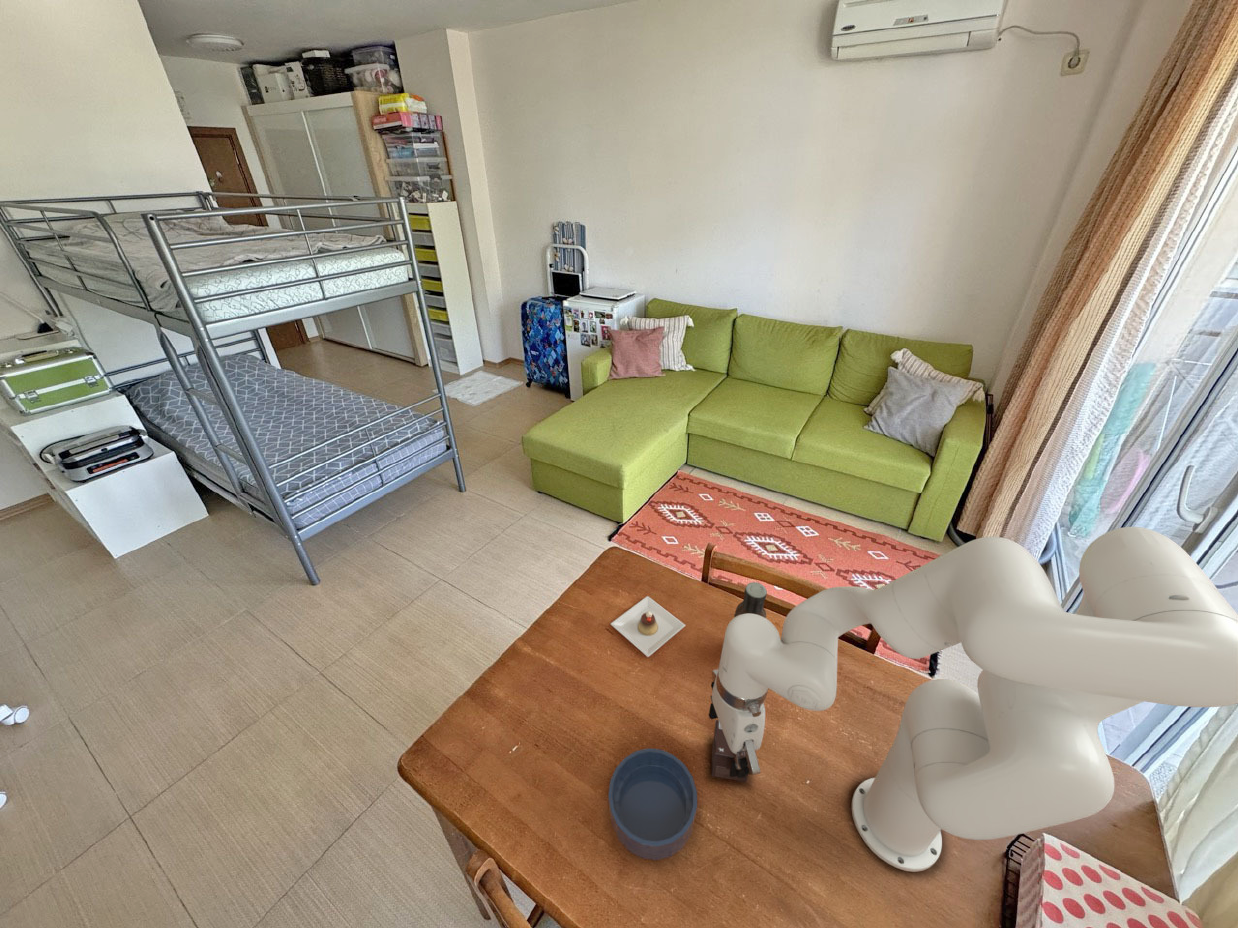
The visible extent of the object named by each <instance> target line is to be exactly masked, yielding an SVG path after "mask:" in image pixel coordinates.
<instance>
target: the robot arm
mask: <svg viewBox="0 0 1238 928" xmlns="http://www.w3.org/2000/svg"><path fill="white" fill-rule="evenodd" d="M1078 576H1079V582H1080V585H1081V589H1082V591H1083V594H1082V598H1081V602H1080V604H1079V606H1078V608H1077V610H1076V612H1075V613H1072V612H1067V611H1064V609H1063V606H1062V605H1061V602H1060V600H1059V598H1058V595H1057V594H1056V591H1055V589H1054V587H1053V585H1052V583H1051V581H1050V579H1049V576H1048V575H1047V574H1046V571H1045V570H1044V568H1043V567H1042V565H1041V564H1040V563H1039V561H1038V560H1037V559H1036V557H1034V555H1033V554H1032V553H1031V552H1030V551H1029V550H1028V549H1026V548H1025V547H1024V546H1022V545H1021V544H1019V543H1017V542H1016V541H1014V540H1012V539H1009V538H1005V537H1002V536H985V537H984V536H983V537H980V538H976V539H972V540H970V541H968V542H966V543H964V544H962V545H960V546H958V547H955V548H954V549H951V550H949V551H948V552H946V553H944V554H942V555H940V556H938V557H936V558H935V559H933V560H931V561H928V562H927V563H925V564H923V565H922V566H919V567H917V568H914V569H913V570H912V571H909V572H908V573H906V574H904V575H902V576H900V577H898V578H896V579H894V580H892V581H890V582H888V583H887V584H885V585H883V586H880V587H878V588H875V589H872V588H867V587H862V586H853V585H852V586H851V585H850V586H834V587H828V588H826V589H823V590H821V591H818V592H817V593H815V594H814V595H811V596H810V597H808V598H806V599H805V600H803V601H801V602H800V603H798V604H797V605H795V606H794V607H793V608H792V609H791V610H790V611H789V612H788V613H787V615H786V617H785V619H784V621H783V624H782V630H781V636H780V633H779V631H778V629H777V627H776V626H775V625H774V623H773V622H771V621H770V620H769V619H768V618H767V617H766V618H764V617H762V616H760V615H756V614H750V613H747V614H741V615H738V616H736V617H735V618H734V617H732V619H730V621H729V623H728V624H727V626H726V628H725V632H724V639H723V643H722V649H721V652H720V653H721V654H720V659H719V664H718V668H715V669H712V670H711V679H712V681H711V684H710V687H711V691H712V692H711V694H710V701H711V703H710V705H709V710H708V711H709V712H708V719H710V720H719V722H720V725H721V728H722V730H723V733H724V736H725V738H726V741H727V743H728V746H729V748H730V750H731V751H732V752H733V753H734V761H732V764H731V768H730V773H729V774H730V777H736V776H737V777H738V778H743V777H746V776H747V774H748V776H749V775H750V776H755V775H759V774H761V768H760V764H759V760H758V757H757V753H756V751H758V750H760V749H761V746H762V743H763V738H764V734H765V727H766V707H765V702H766V699H767V695H768V692H769V690H771V691H772V692H774V693H775V694H777V695H778V696H780V697H782V698H783V699H785V700H787V701H788V702H790V703H792V704H794V705H795V706H798V707H800V708H801V709H804V710H808V711H813V712H822V711H826V710H828V709H830V708H831V707H832V706H833V705H834V703H835V701H836V698H837V690H838V649H839V637H841V636H843V635H844V634H846V633H848V632H850V631H852V630H854V629H856V628H858V627H861V626H863V625H864V626H865V625H868V624H869V625H872V627H873V628H874V630H875V631H876V633H877V634H878V636H879V637H880V638H881V639H882V640H883V641H884V642H885V643H886V645H888V646H889V647H890V648H891V649H892V650H893V651H895V653H897V654H899V655H901V656H903V657H905V658H908V659H912V660H919V659H923V658H926V657H928V656H931V655H933V654H936V653H938V652H941V651H944V650H945V649H948V648H950V647H954V646H956V645H959V644H961V647H962V649H963V651H964V653H965V654H966V656H967V657H968V658H969V660H970V661H971V662H973V663H974V665H976V666H977V667H979V668H980V669H981V671H980V673H979V674H978V677H977V685H976V686H977V692H976V691H975V690H974V689H972V688H971V687H969V686H967V685H966V684H964V683H962V682H959V681H956V680H952V679H947V678H935V679H931V680H930V679H929V680H926V681H924V682H922V683H920V684H919V685H917V686H916V687H915V688H914V689H913V690H912V691H911V692H910V694H909V696H907V700H906V701H905V703H904V707H903V709H902V714H901V719H900V723H899V725H898V726H899V727H898V730H897V732H896V735H895V738H894V739H893V742H892V744H891V746H890V748H889V750H888V751H887V753H886V755H885V758H884V759H883V761H882V763H881V766H880V767H879V769H878V772H877V773H876V775H875V777H870V778H868V779H865V780H863V781H862V782H861V783H860V784H859V785H858V786H857V788H856V789H855V790H854V792H853V796H852V799H851V816H852V819H853V822H854V825H855V828H856V830H857V832H858V834H859V836H860V837H861V838H862V840H863V842H864V843H865V845H866V846H867V847H869V849H870V850H871V851H872V852H873V853H874V854H875V855H876V856H877V857H878V858H879V859H880V860H882V861H884V862H885V863H886V864H888V865H890V866H892V867H894V868H896V869H898V870H902V871H905V872H910V873H911V872H912V873H916V872H917V873H918V872H923V871H926V870H927V869H930V868H932V866H934V864H935V863H936V862H937V861H938V859H939V858H940V855H941V853H942V848H943V838H942V837H943V836H942V831H944V832H945V833H947V834H949V835H951V836H954V837H958V838H961V839H966V840H975V841H988V840H990V841H991V840H997V839H1003V838H1008V837H1013V836H1018V835H1022V834H1026V833H1030V832H1033V831H1037V830H1042V829H1046V828H1051V827H1054V826H1058V825H1063V824H1067V823H1071V822H1075V821H1079V820H1082V819H1085V818H1088V817H1091V816H1094V815H1096V814H1097V813H1099V812H1100V811H1102V810H1103V809H1105V808H1106V806H1107V805H1108V804H1109V803H1110V802H1111V800H1112V798H1113V796H1114V793H1115V776H1114V773H1113V772H1114V771H1113V769H1112V766H1111V763H1110V760H1109V758H1108V756H1107V753H1106V751H1105V748H1104V746H1103V744H1102V741H1101V738H1100V736H1099V732H1098V729H1099V725H1100V723H1101V722H1103V721H1104V720H1106V719H1108V718H1109V717H1112V716H1115V715H1116V714H1119V713H1121V712H1123V711H1125V710H1127V709H1130V708H1132V707H1135V706H1136V705H1139V704H1142V703H1144V702H1145V703H1146V702H1147V703H1153V704H1160V705H1166V706H1173V707H1174V706H1175V707H1188V708H1189V707H1190V708H1221V707H1227V706H1232V705H1238V613H1237V612H1236V611H1235V609H1234V608H1233V606H1231V604H1229V602H1228V600H1227V599H1226V598H1225V597H1224V596H1223V594H1222V593H1221V592H1220V591H1219V589H1218V588H1217V586H1216V585H1215V583H1214V582H1213V581H1212V580H1211V579H1210V577H1209V576H1208V575H1207V574H1206V573H1205V572H1204V570H1203V569H1202V568H1201V567H1200V566H1199V564H1198V563H1197V562H1196V561H1195V560H1194V559H1193V557H1191V555H1189V553H1188V552H1187V551H1186V550H1185V549H1184V548H1182V547H1181V546H1180V545H1179V544H1178V543H1176V542H1175V541H1174V540H1172V539H1171V538H1169V537H1168V536H1166V535H1165V534H1163V533H1160V532H1158V531H1155V530H1153V529H1150V528H1146V527H1141V526H1125V527H1119V528H1115V529H1111V530H1109V531H1106V532H1104V533H1103V534H1101V535H1099V536H1098V537H1096V538H1095V539H1094V540H1093V541H1092V542H1091V543H1090V544H1089V545H1088V546H1087V548H1086V549H1085V550H1084V552H1083V554H1082V556H1081V558H1080V561H1079V568H1078ZM740 752H745V754H746V757H745V758H740V755H739V753H740Z"/></svg>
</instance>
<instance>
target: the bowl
mask: <svg viewBox="0 0 1238 928" xmlns="http://www.w3.org/2000/svg"><path fill="white" fill-rule="evenodd" d="M695 783H696V782H695V781H694V777H693V775H692V774H691V772H690V771H689V769H688V766H686V764H685V763H684V762H683V761H681V760H680V759H679V757H677V756H676V755H674V754H672V753H670V752H668V751H666V750H664V749H659V748H650V747H649V748H643V749H639V750H635V751H634V752H632V753H630V754H628V755H627V756H625V757H624V758H623V759H622V760H621V761H620V762H619V764H618V765H617V766H616V768H615V769H614V771H613V773H612V776H611V778H610V781H609V787H608V793H607V794H608V795H607V798H608V807H609V808H608V811H609V817H610V818H609V819H610V823H611V827H612V829H613V831H614V833H615V835H616V838H617V839H618V841H619V842H620V843H621V844H622V845H623V846H624V847H625V848H626V849H627V850H628V852H630V853H632V854H633V855H636V856H637V857H639V858H641V859H646V860H653V861H658V860H662V859H667V858H671V857H672V856H673V855H675V854H677V853H678V852H680V851H681V850H682V849H683V848H684V847H685V846H686V844H687V842H688V841H689V840H690V839H691V836H692V833H693V830H694V827H695V823H696V818H697V810H698V790H697V787H696V784H695Z"/></svg>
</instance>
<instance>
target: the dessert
mask: <svg viewBox="0 0 1238 928" xmlns="http://www.w3.org/2000/svg"><path fill="white" fill-rule="evenodd" d="M610 625H611V627H613V628H614V629H615V630H616V631H618V633H620V634H621V635H622V636H623V637H625V639H627V640H628V641H629V642H630V643H631V644H632V645H634V646H635V647H636V648H637V649H638V650H639V651H640V652H641V653H642V654H643V655H645V656H646V657H647V658H649V657H651V656H652V655H653V654H654V653H655V652H656V651H658V649H660V648H661V647H662V646H664V645H665V644H666V643H667V642H668V641H669V640H671V639H672V638H673V637H674V636H675V635H677V634H678V633H679V632H680V631H681V630H683V629H684V627H686V624H685V623H684V622H682V621H681V620H680V619H679V618H677V616H674V614H672V613H671V612H669V611H668V610H667V609H665V608H664V607H663V606H661V605H660V604H659V603H657V602H656V601H655V600H654V599H652V598H651V597H650V596H648V595H647V596H645V597H644V598H643V599H641V600H640V601H639V602H637V603H636V604H635V605H633V606H632V607H630V609H627V610H626V611H625V612H623V613H622V614H621V615H620V616H618V617H617V618H616V619H615V620H613V621H612V622H610Z"/></svg>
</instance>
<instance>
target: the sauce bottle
mask: <svg viewBox="0 0 1238 928" xmlns="http://www.w3.org/2000/svg"><path fill="white" fill-rule="evenodd" d="M743 593H744V597H743V600H742V601H741V602H740V603H738V604H737V606H736V608H735V612H734V614H733V618H735V617H736V616H738V615H741V614H747V613H750V614H756V615H760V616H762V617H764V618H766V619H767V612H766V611H767V610H766V609H765V607H764V604H765V600H766V599H767V594H768V590H767V588H766V587H765V586H764V585H763V584H762V583H760V582H754V581H753V582H749V583H747V584H746V586H745V588H744V592H743Z"/></svg>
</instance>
